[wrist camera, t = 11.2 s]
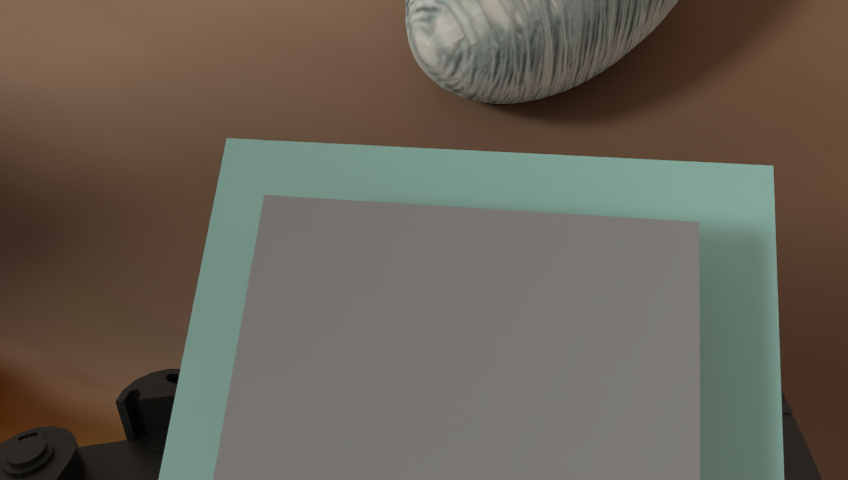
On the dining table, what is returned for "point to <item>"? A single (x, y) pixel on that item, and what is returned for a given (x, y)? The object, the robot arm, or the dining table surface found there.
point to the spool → (524, 43)
